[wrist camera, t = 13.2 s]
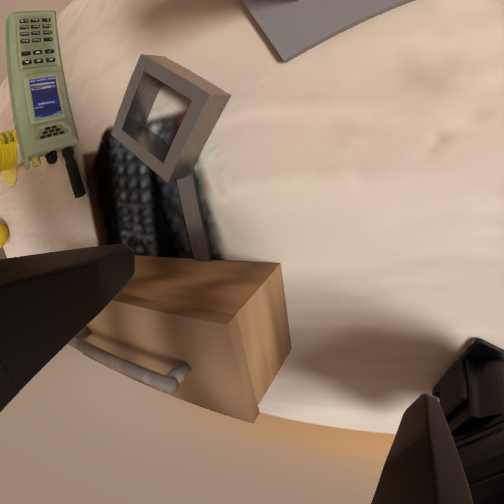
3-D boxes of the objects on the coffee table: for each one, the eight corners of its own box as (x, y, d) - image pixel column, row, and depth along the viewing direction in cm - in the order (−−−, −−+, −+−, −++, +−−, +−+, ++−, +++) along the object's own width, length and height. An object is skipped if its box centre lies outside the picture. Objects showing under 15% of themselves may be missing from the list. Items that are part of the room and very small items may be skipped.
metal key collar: (292, 137, 18) (277, 139, 16) (207, 268, 26) (190, 282, 24) (164, 56, 19) (141, 54, 17) (116, 183, 27) (96, 190, 25)
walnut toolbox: (283, 259, 22) (201, 353, 14) (294, 352, 25) (236, 449, 17) (107, 251, 32) (32, 294, 23) (130, 316, 35) (67, 366, 26)
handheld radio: (58, 6, 22) (97, 189, 29) (47, 22, 23) (84, 196, 31) (12, 8, 16) (44, 209, 24) (3, 25, 18) (35, 216, 25)
